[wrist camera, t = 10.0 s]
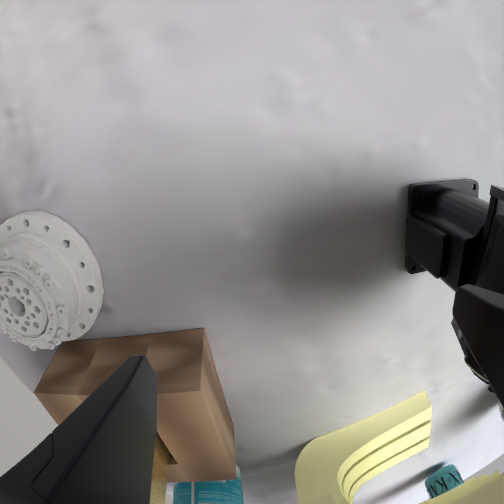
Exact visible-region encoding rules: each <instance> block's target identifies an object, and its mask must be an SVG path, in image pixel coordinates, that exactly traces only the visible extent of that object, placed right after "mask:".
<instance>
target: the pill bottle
mask: <svg viewBox="0 0 504 504" xmlns="http://www.w3.org/2000/svg"><path fill="white" fill-rule="evenodd" d="M236 477H237V479H233V480H220V481H200V482H174V493H173V504H244V503H243V493H242V483H241V472H240V469H239V467H238V465H237V464H236Z"/></svg>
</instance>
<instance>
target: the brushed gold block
mask: <svg viewBox="0 0 504 504" xmlns="http://www.w3.org/2000/svg"><path fill="white" fill-rule="evenodd" d="M168 459H169V450H168V448H167V447H166V445H165V443H164V442H163V440H162V439H161V437H160V436H159V434H158V432H157V433H156V443H155V452H154V461H153V472H152V483H151V495H150V504H165V494H166V482H167V470H168Z"/></svg>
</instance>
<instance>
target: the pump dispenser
mask: <svg viewBox="0 0 504 504" xmlns="http://www.w3.org/2000/svg"><path fill="white" fill-rule="evenodd" d="M498 404H499V409H500V412H501V419H502V420H503V421H504V409H503V407H502V405H501V403H500V401H499V400H498Z"/></svg>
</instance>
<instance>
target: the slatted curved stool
mask: <svg viewBox="0 0 504 504" xmlns="http://www.w3.org/2000/svg"><path fill="white" fill-rule="evenodd" d="M431 414H432V405H431V403H430V401H429V399H428V396H427V394H426V391H425V390H423V391H422V392H420V393H418V394H416V395H414V396H412V397H410V398H408V399H406V400H404V401H402V402H400V403H398V404H396V405H394V406H392V407H390V408H388V409H385V410H383V411H381V412H379V413H377V414H374V415H372V416H370V417H368V418H365V419H363V420H361V421H358V422H356V423H353V424H351V425H348V426H346V427H343V428H341V429H338V430H336V431H333V432H330V433H328V434H325V435H322V436H319V437H317V438H315V439H313V440H312V441H310V442H309V443H308V444H307V445H306V446H305V447H304V448H303V450H302V451H301V453H300V455H299V457H298V459H297V462H296V466H295V472H294V477H295V483H296V490H297V499H298V503H297V504H353V496H354V494H355V492H356V491H357V489H358V488H359V487H360V486H361V485H362V484H364V483H365V482H366V481H368V480H369V479H371V478H372V477H374V476H375V475H377V474H379V473H380V472H382V471H384V470H386V469H388V468H390V467H391V466H393V465H395V464H397V463H399V462H401V461H403V460H405V459H407V458H408V457H410V456H412V455H414V454H416V453H418V452H420V451H422V450H424V449H426V448H427V447H429V437H428V436H430V427H431V421H430V420H429V419H431ZM420 504H504V473H502V474H501V475H500V473H499V472H498V470H497V471H496V472H495V473H493V474H492V475H490V476H489V477H487V475H486V474H484V475H482V476H481V477H479V478H478V479H477V478H476V477H475V476H474V477H473V478H471V479H469V480H468V481H466V482H464V483H463V484H461V485H459V486H457V487H455V488H453V489H451V490H450V491H448V492H446V493H444V494H441V495H439V496H437V497H435V498H433V499H430V500H428V501H425V502H423V503H420Z"/></svg>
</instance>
